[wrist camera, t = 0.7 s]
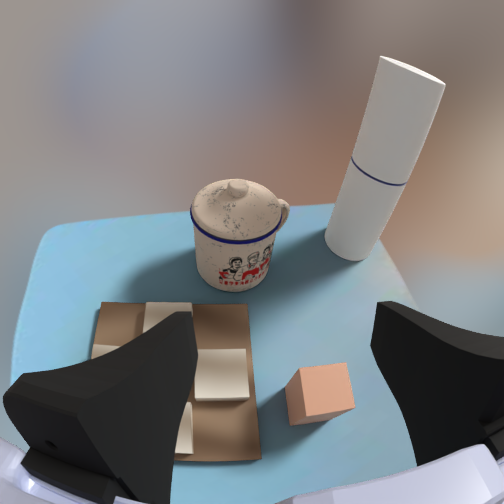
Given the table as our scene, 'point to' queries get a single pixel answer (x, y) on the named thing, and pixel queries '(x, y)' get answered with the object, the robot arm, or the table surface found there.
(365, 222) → the cylindrical container
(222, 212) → the teacup with lid
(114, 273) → the table surface
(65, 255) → the table surface
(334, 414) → the terracotta block
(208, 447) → the walnut board
